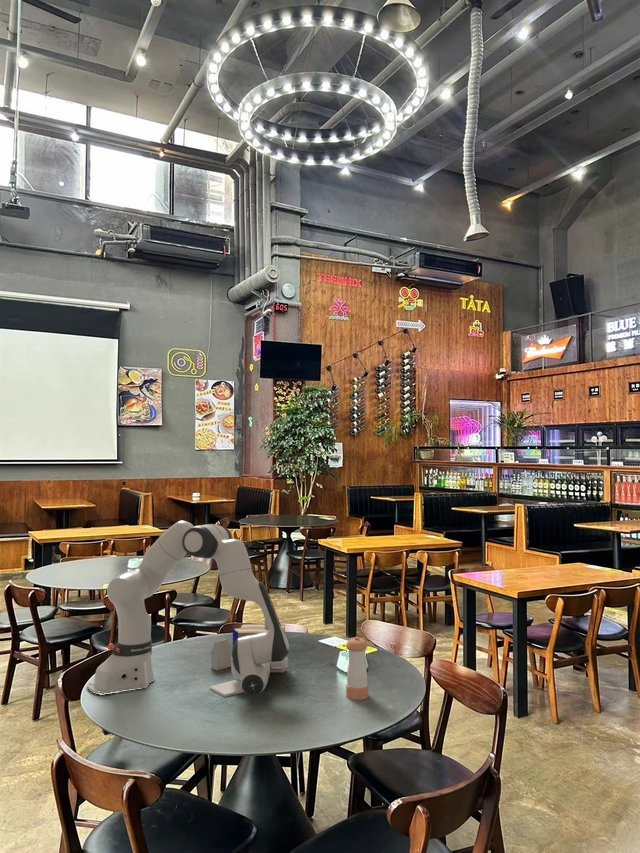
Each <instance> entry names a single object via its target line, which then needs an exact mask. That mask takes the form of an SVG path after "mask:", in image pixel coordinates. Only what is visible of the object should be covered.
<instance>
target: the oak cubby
mask: <svg viewBox="0 0 640 853" xmlns="http://www.w3.org/2000/svg"><path fill="white" fill-rule="evenodd" d="M280 625H281V627H282V630H283V632H284V633H286V630H285V628H286V627H285V626H286V624H284V623H283V624H282V623H280ZM239 628H240V630H239V632H238V637H243V636H248V635H254V634H258V633H263V632H266V631H268V629H265V623H264V624H263V623H262V624H260V623H259V624H241V627H239ZM280 674H285V671H284V672H280Z"/></svg>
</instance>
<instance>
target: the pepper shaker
mask: <svg viewBox="0 0 640 853" xmlns="http://www.w3.org/2000/svg"><path fill="white" fill-rule="evenodd" d="M368 646H369V645H368V643H367V641H366V640H365V639H363V638H360V637H359V636H355V637H353V638H351V639H348V640H347V643H346V649H347V650H348V667H347V672H346V677H347V678H346V680H347V683H346V685H345V689H346V690H345V694H346V695H345V696H346V698H348V699H350V700H353V701H354V700H355V701H361V700H366V699H368V698H369V685H368V672H367V671H368V670H367V665H366V650H367V649H368Z"/></svg>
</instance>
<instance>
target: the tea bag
mask: <svg viewBox="0 0 640 853" xmlns="http://www.w3.org/2000/svg"><path fill="white" fill-rule="evenodd" d="M211 649H212V650H211V654H210V656H211V658H210V666H211V667H210V669H212V670H215V671H220V670H224V669H227V668H231V658H232V647H231V645H230V641H229V638H225V639H221V640H217V641H214V642H213V646H212V648H211Z"/></svg>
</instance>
